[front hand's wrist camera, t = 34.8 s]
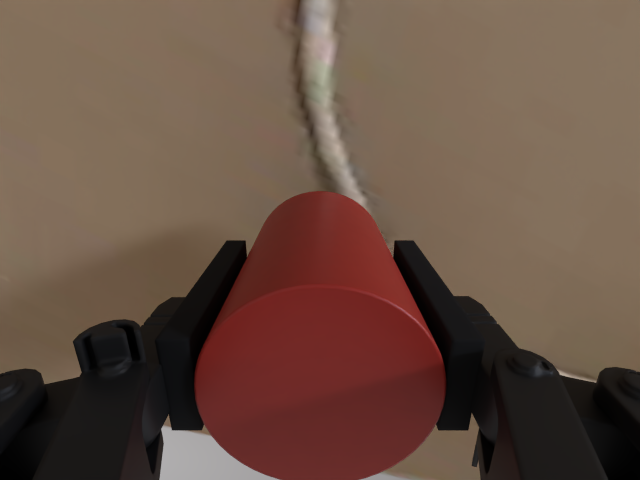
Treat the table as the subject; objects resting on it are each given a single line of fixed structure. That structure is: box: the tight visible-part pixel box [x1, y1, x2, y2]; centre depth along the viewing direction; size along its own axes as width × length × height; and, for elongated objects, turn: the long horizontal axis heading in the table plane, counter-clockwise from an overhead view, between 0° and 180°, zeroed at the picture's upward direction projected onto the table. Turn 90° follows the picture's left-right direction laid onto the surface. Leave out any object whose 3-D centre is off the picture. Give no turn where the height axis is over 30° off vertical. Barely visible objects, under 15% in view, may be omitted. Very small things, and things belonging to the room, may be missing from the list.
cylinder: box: [194, 191, 446, 480], centre depth 13 cm, size 6×6×9 cm
